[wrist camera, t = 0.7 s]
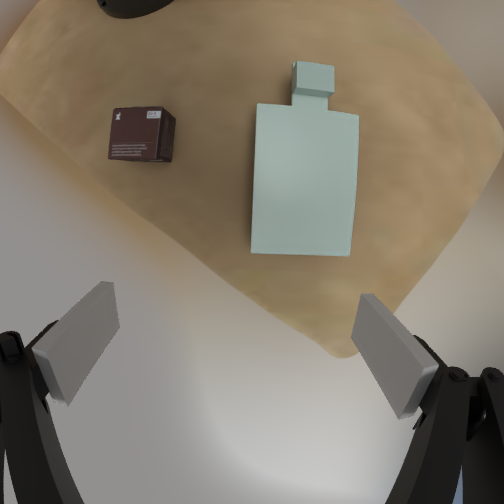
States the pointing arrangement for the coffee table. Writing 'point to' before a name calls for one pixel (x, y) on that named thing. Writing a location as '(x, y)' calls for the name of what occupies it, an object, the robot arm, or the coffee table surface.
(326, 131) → the lid
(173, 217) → the coffee table surface
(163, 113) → the box
